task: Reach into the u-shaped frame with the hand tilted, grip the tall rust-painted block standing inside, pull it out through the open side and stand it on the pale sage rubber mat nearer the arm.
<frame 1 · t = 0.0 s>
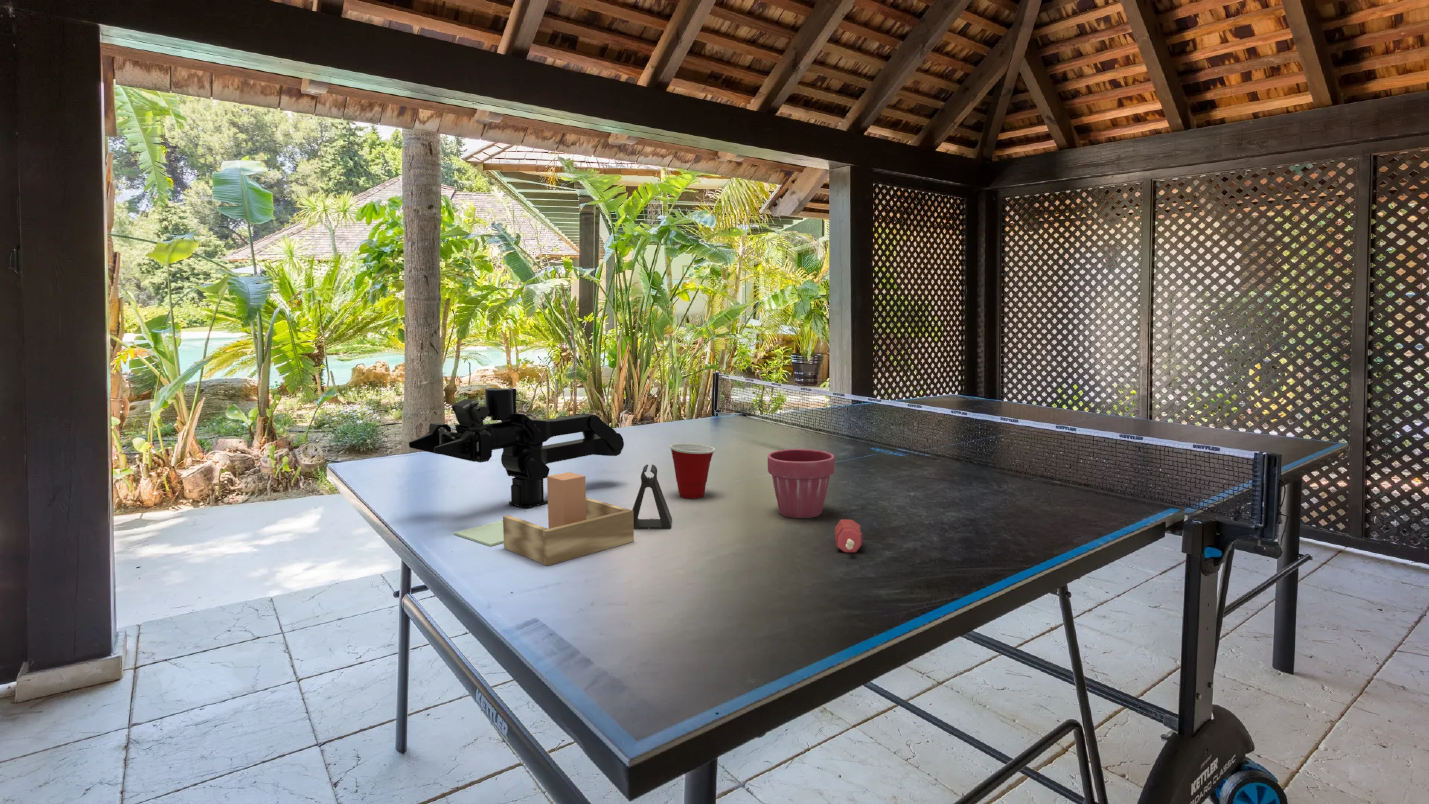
hand: (421, 447, 152), 17 cm above the table, fingers open, 9 cm apart
mat: (498, 533, 151), on the table
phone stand: (649, 525, 157), on the table
u-shaped frame: (567, 543, 144), on the table
plastic cup: (692, 496, 181), on the table
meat: (847, 549, 142), on the table
plant pot: (800, 513, 166), on the table
block: (567, 544, 144), on the table
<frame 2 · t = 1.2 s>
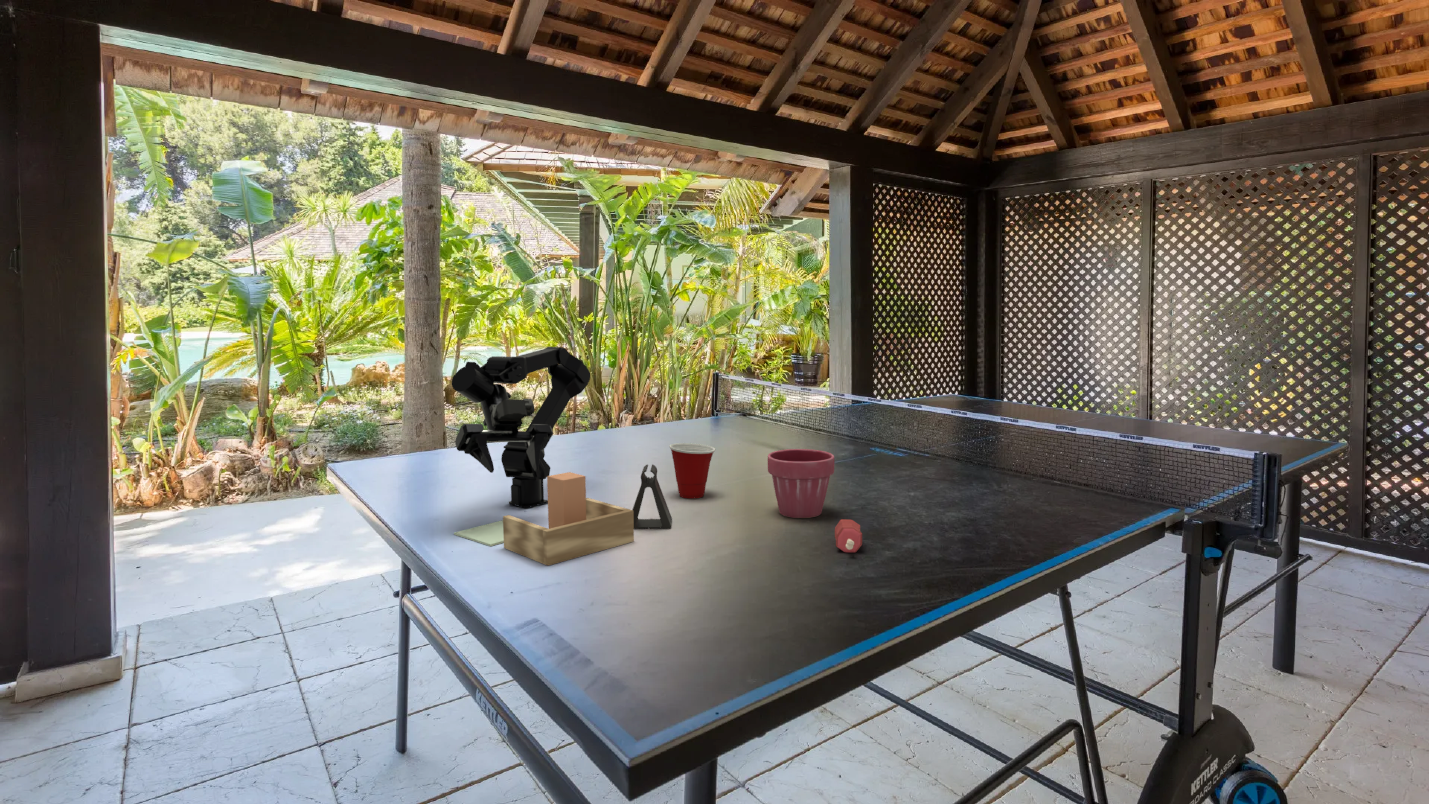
hand: (515, 470, 151), 12 cm above the table, fingers open, 9 cm apart
nothing on the table moved.
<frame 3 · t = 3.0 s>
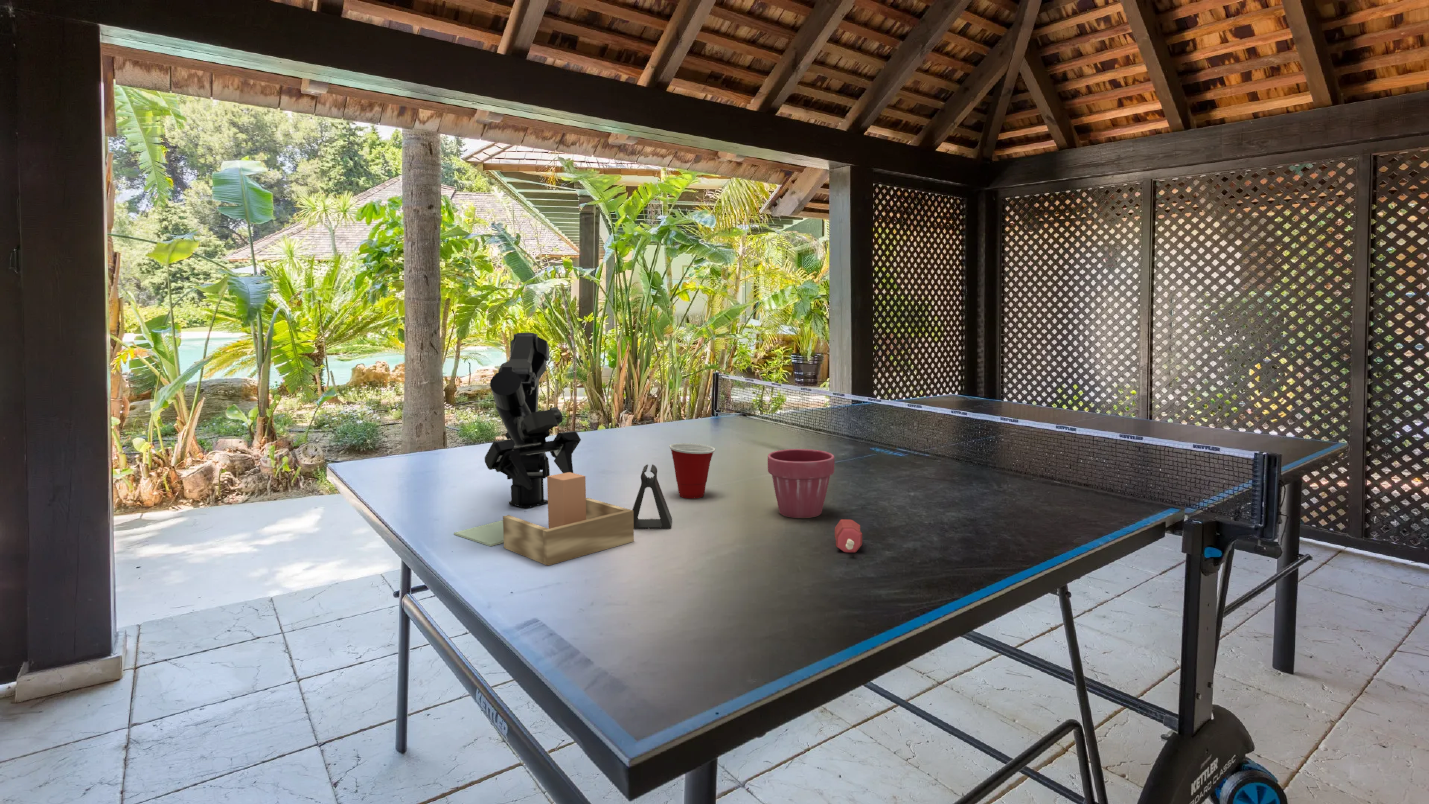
hand: (552, 484, 145), 11 cm above the table, fingers open, 9 cm apart
nothing on the table moved.
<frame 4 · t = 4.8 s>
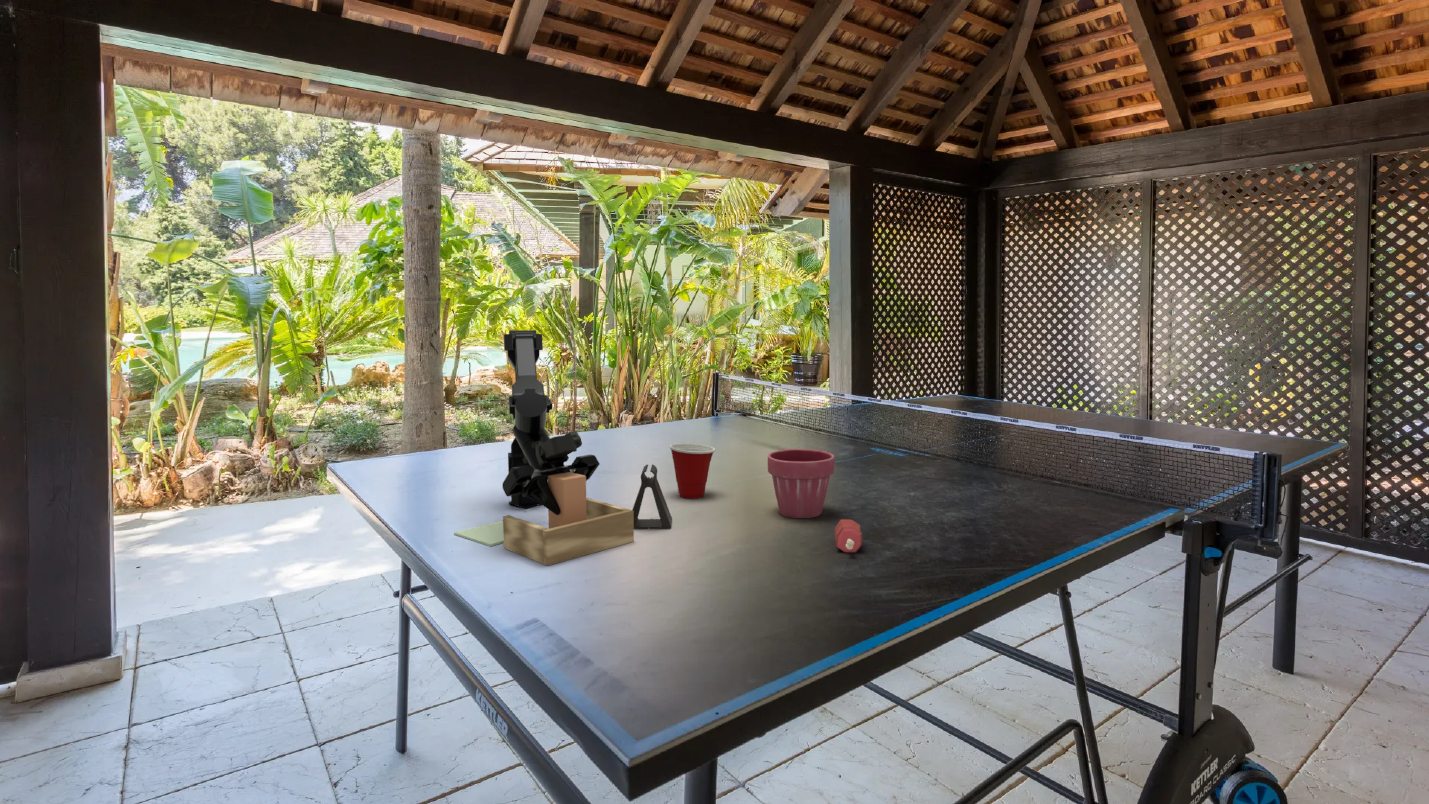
hand: (571, 510, 142), 7 cm above the table, fingers closed on block, 5 cm apart
block: (567, 543, 144), on the table, touching gripper
everything else where it was.
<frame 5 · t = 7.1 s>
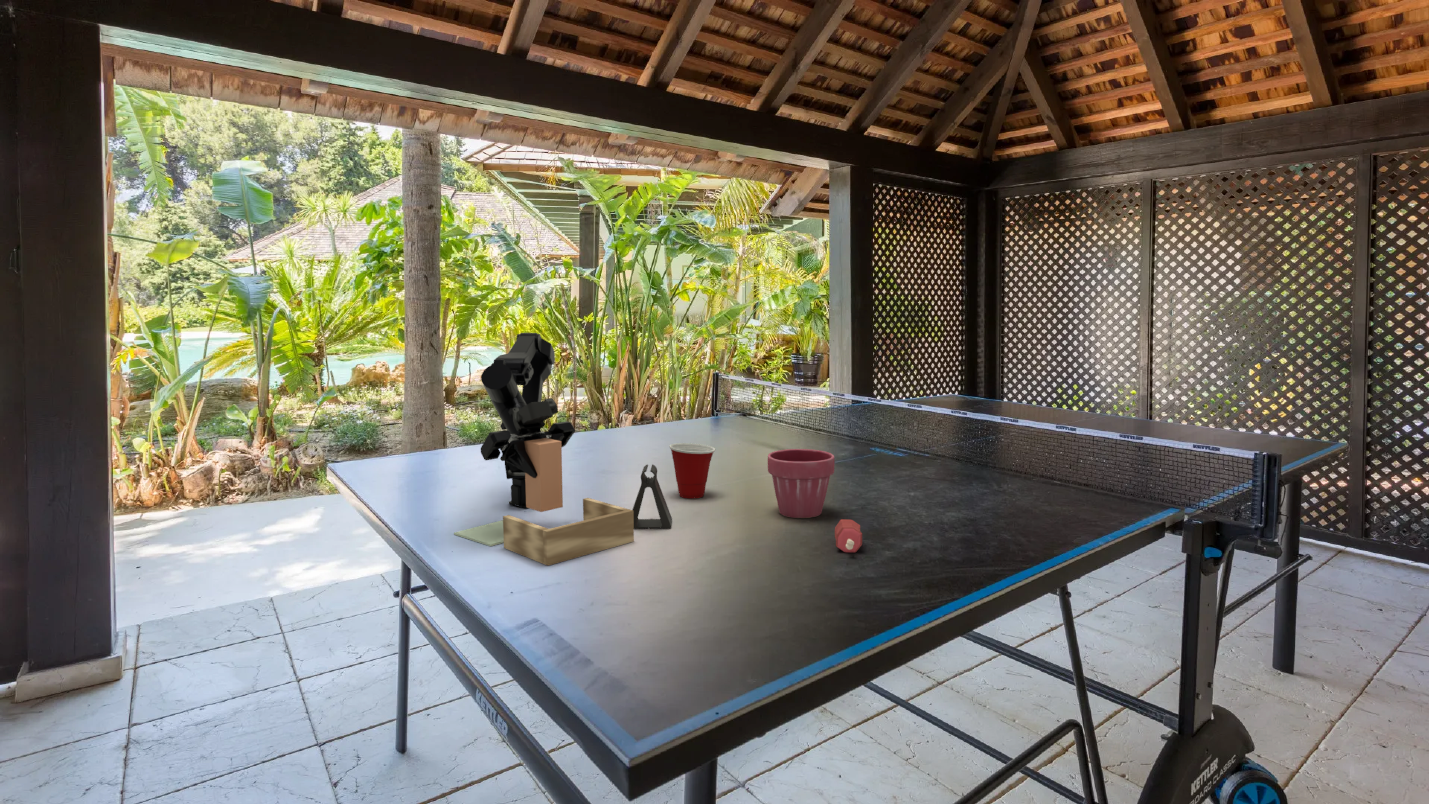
hand: (547, 474, 147), 12 cm above the table, fingers closed on block, 5 cm apart
block: (544, 507, 149), point 6 cm above the table, touching gripper
everything else where it was.
when the fingers open (8 cm above the table, at t = 9.2 s): block stays where it is, resting on mat.
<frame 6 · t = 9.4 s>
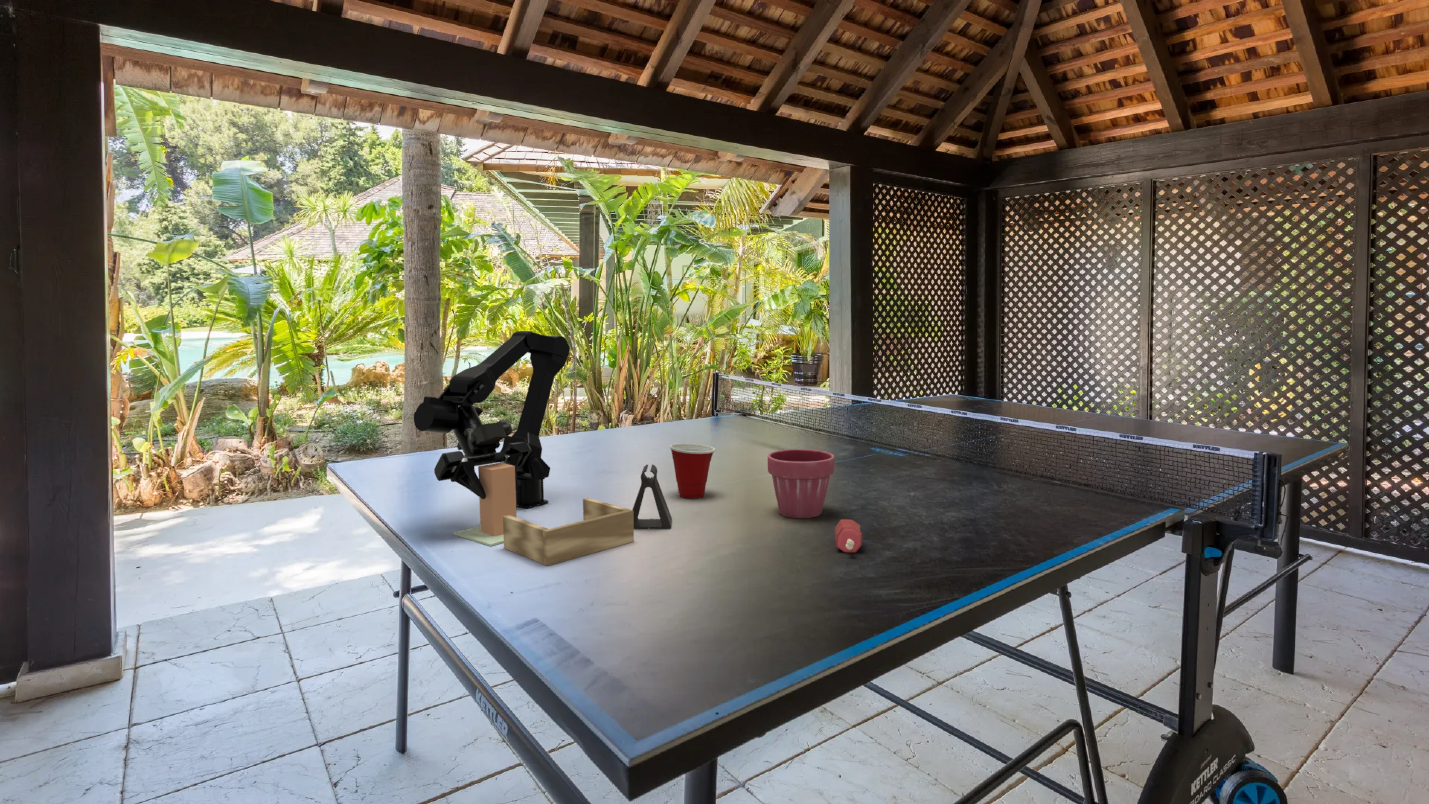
hand: (501, 494, 149), 8 cm above the table, fingers open, 7 cm apart
block: (498, 531, 151), resting on mat
everything else where it was.
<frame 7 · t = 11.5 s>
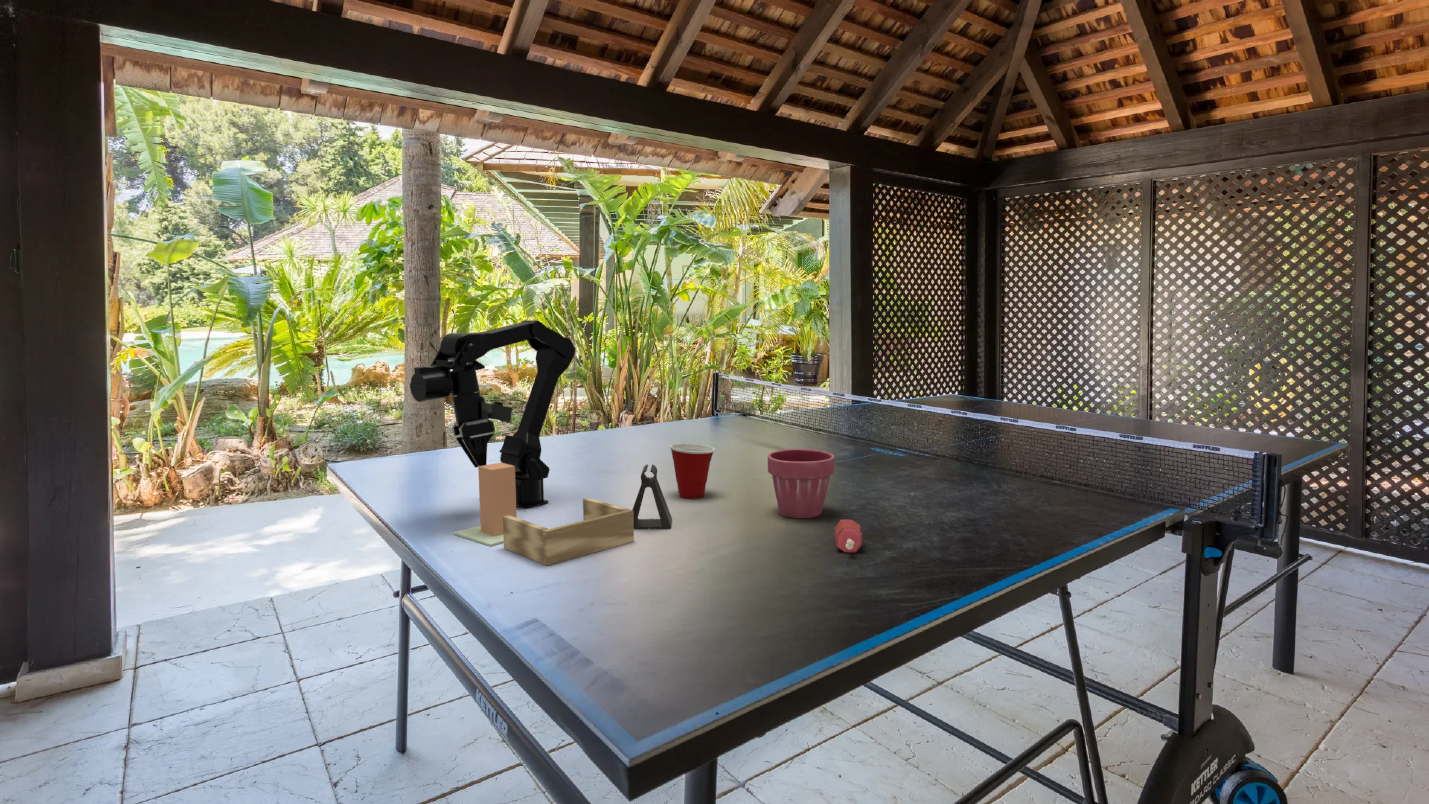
hand: (480, 468, 159), 11 cm above the table, fingers open, 9 cm apart
nothing on the table moved.
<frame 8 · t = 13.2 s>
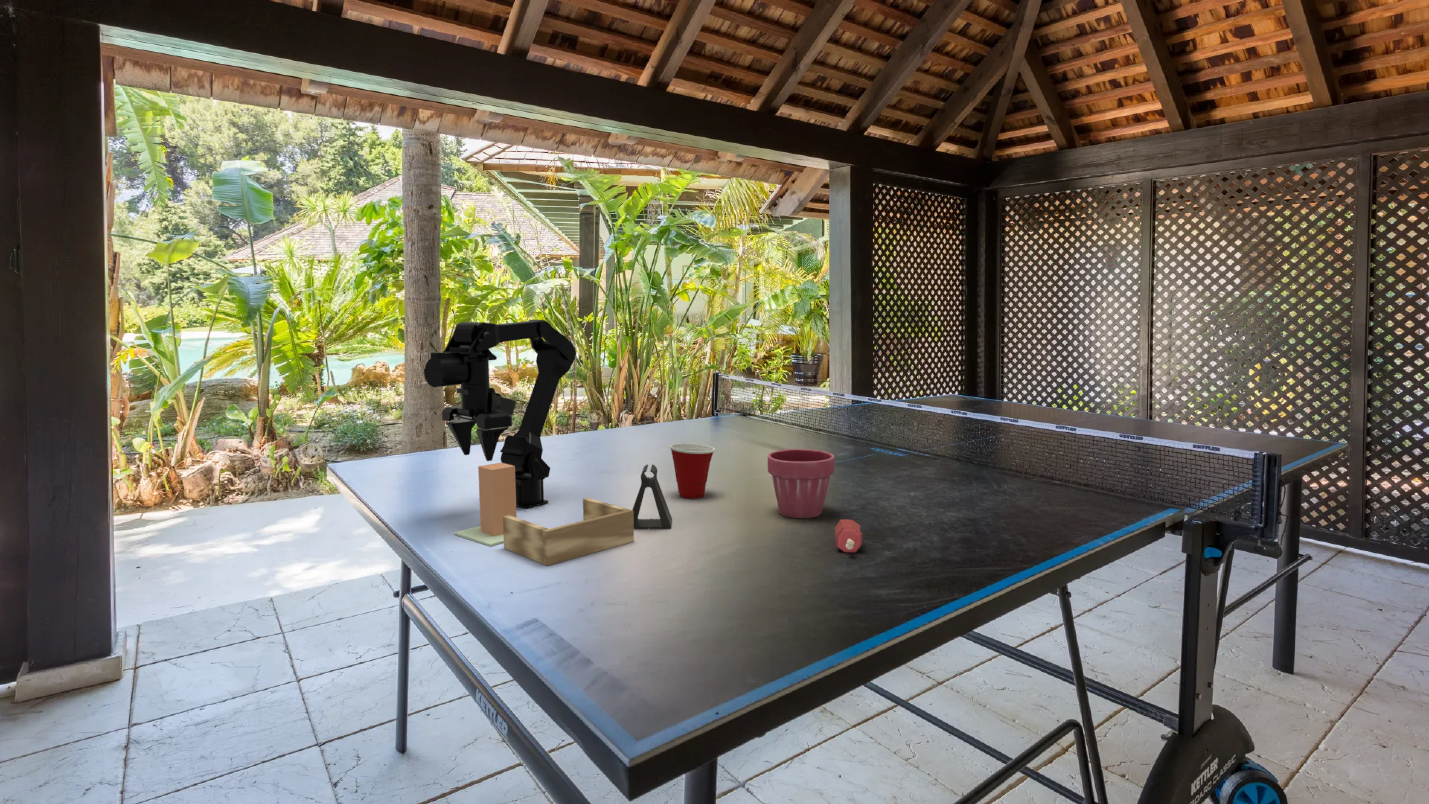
hand: (477, 457, 160), 13 cm above the table, fingers open, 9 cm apart
nothing on the table moved.
at the end: block inside the target area on the mat (0.1 cm from its centre), point 0.4 cm above the mat's base; block tilted 0°; the gripper is holding nothing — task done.
